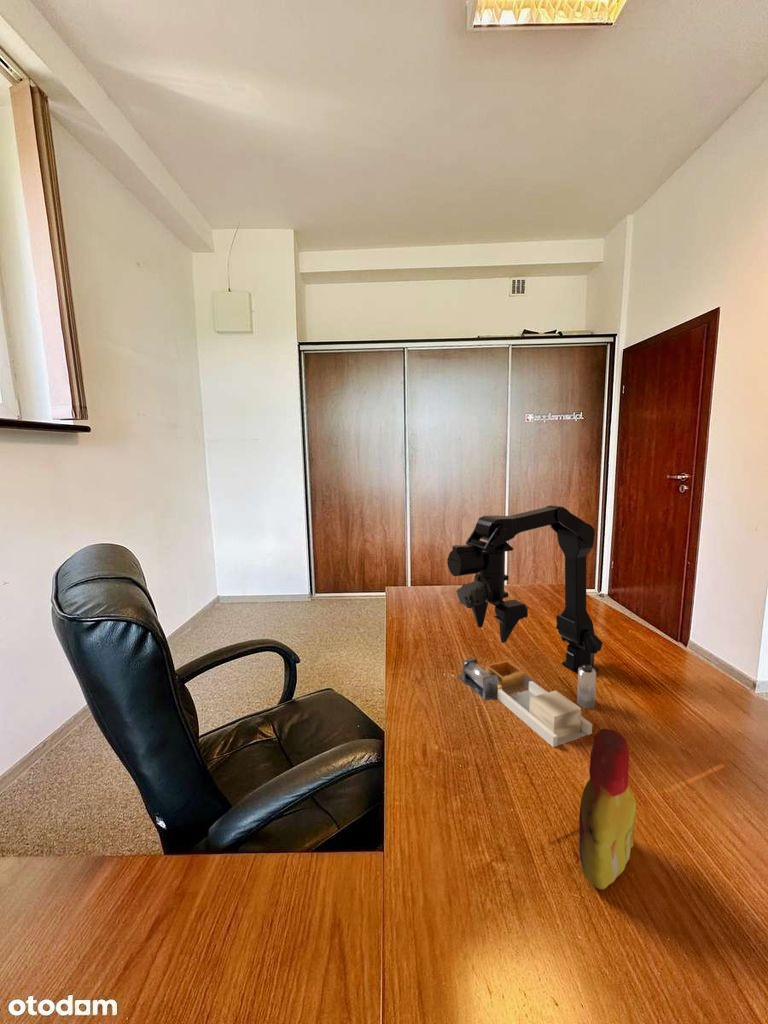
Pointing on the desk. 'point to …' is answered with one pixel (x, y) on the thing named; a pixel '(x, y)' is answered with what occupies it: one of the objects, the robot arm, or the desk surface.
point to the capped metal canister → (586, 686)
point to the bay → (534, 722)
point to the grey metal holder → (494, 678)
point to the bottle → (606, 811)
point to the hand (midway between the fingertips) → (491, 634)
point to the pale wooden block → (556, 713)
